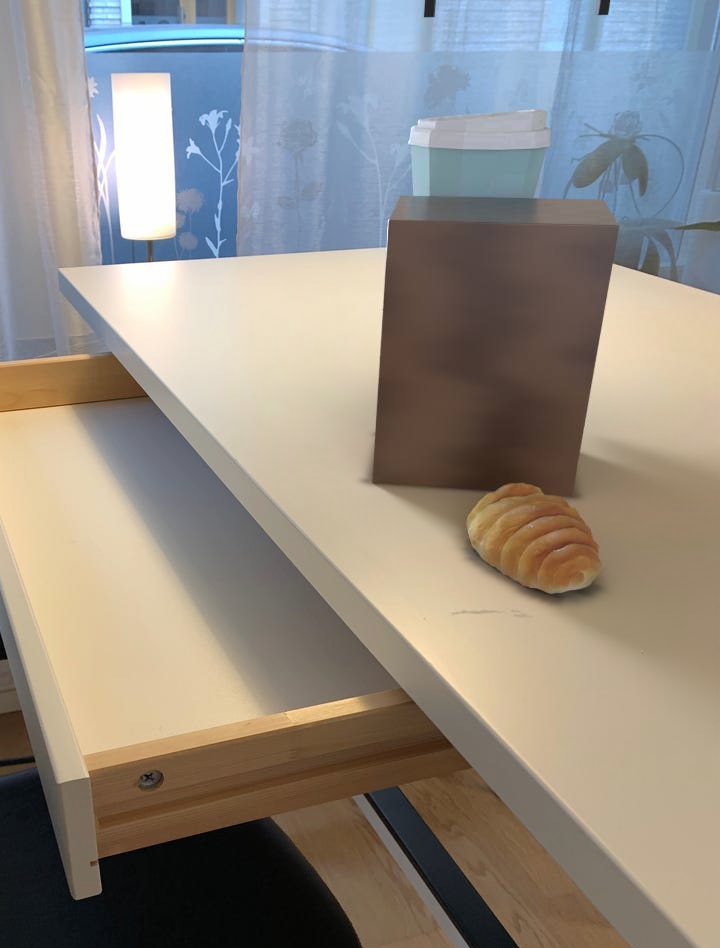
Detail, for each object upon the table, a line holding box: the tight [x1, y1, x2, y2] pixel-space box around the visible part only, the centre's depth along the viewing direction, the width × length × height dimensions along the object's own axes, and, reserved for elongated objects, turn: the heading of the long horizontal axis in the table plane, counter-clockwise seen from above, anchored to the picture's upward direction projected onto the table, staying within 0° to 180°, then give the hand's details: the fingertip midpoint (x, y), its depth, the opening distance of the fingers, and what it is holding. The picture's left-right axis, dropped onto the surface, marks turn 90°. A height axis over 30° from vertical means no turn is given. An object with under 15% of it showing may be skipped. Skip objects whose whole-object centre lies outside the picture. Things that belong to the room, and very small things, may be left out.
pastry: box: [466, 483, 603, 595], centre depth 62 cm, size 9×7×4 cm
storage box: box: [371, 195, 620, 498], centre depth 78 cm, size 14×24×18 cm, turn 168°
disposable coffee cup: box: [407, 108, 552, 198], centre depth 79 cm, size 11×11×15 cm
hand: (514, 16), depth 82 cm, fingers open, 13 cm apart
